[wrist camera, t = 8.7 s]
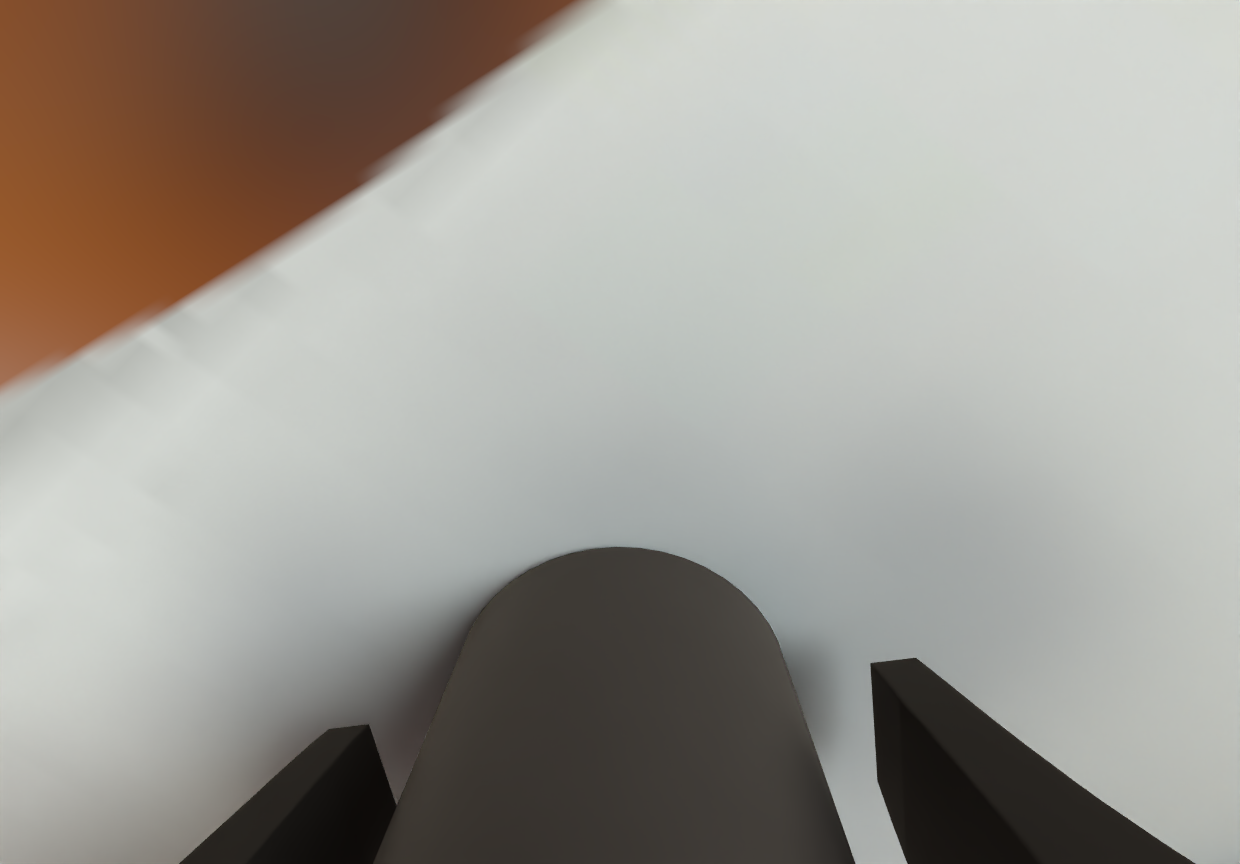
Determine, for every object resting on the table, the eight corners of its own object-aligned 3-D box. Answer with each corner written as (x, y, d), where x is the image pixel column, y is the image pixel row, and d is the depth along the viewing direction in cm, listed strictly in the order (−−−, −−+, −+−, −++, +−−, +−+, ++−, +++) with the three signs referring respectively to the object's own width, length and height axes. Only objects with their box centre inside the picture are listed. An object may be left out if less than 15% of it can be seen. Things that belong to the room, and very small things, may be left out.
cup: (770, 521, 9) (947, 902, 4) (799, 801, 11) (956, 1347, 6) (422, 569, 10) (165, 978, 4) (497, 833, 11) (373, 1377, 6)
